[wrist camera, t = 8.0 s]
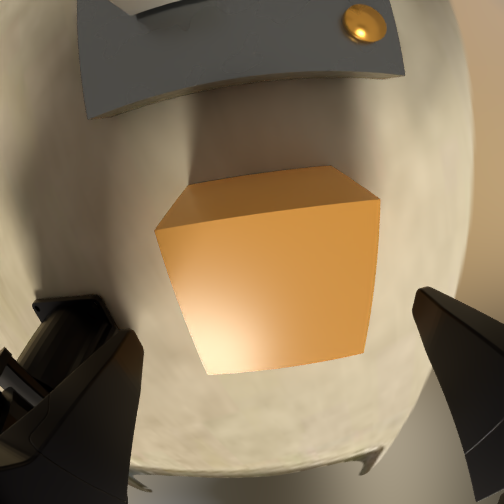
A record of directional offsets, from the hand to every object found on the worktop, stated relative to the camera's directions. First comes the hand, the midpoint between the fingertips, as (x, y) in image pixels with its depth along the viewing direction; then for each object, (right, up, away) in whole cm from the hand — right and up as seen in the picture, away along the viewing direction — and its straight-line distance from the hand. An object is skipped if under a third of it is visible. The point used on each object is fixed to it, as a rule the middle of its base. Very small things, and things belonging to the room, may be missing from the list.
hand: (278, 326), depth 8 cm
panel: (-2, +18, -3) cm, 18 cm away
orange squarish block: (0, +3, +5) cm, 6 cm away
